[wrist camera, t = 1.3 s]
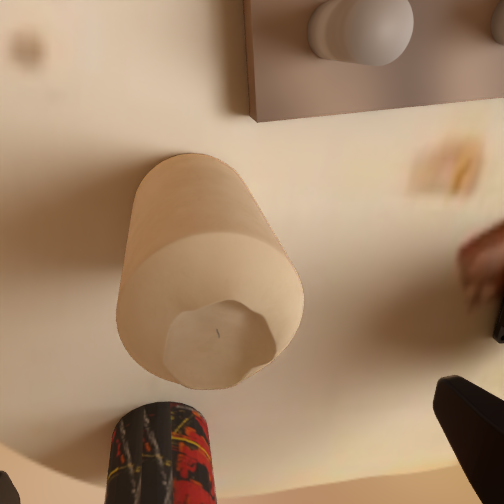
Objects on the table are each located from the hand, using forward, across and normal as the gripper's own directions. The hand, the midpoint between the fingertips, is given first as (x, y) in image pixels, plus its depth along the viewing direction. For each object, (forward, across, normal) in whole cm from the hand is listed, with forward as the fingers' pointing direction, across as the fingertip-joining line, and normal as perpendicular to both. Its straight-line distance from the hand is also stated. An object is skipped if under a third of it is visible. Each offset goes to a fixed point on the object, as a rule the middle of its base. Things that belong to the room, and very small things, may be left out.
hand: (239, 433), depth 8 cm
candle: (+13, 0, 0) cm, 13 cm away
